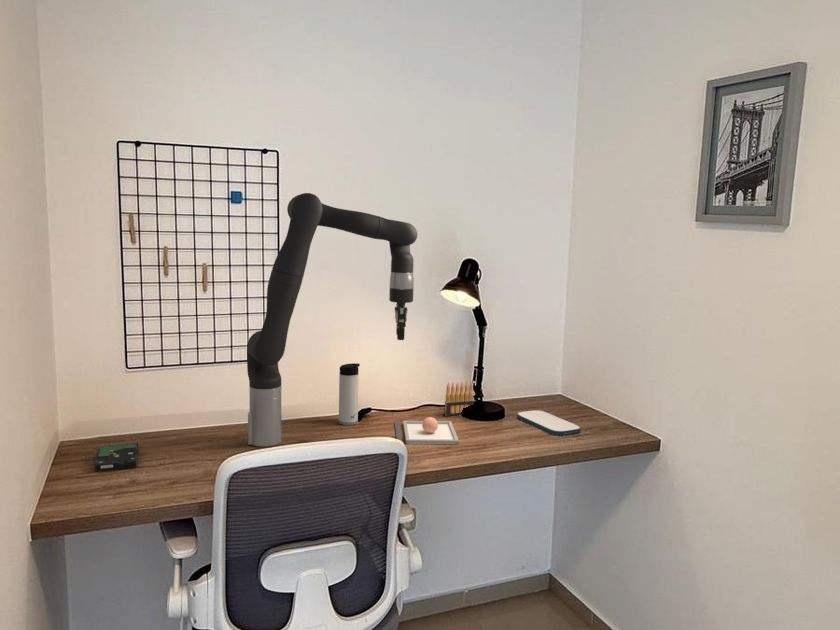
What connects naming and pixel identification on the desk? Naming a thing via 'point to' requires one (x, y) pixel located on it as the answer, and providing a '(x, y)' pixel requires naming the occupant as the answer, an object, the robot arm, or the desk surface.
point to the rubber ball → (430, 425)
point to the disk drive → (117, 457)
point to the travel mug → (348, 394)
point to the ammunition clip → (458, 399)
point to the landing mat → (419, 436)
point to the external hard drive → (548, 422)
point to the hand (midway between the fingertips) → (400, 337)
